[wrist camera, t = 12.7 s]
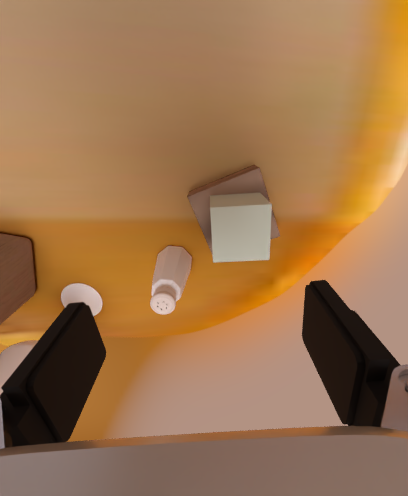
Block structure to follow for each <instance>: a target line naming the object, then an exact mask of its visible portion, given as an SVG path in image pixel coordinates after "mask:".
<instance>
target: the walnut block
mask: <svg viewBox="0 0 408 496" xmlns="http://www.w3.org/2000/svg"><path fill="white" fill-rule="evenodd" d="M243 193H261V194H262V195H263V196H264V197H265V198H266V199H267V200H268V201H269V198H268V194H267V191H266V188H265V185H264V181H263V178H262V175H261V171H260V168H259V167H257V166H255V165H253V166H250V167H248V168H245V169H243V170H241V171H238V172H236V173H233V174H231V175H228V176H226V177H223V178H221V179H219V180H216V181H214V182H211V183H209V184H206V185H204V186H202V187H199V188H197V189H194V190H192V191H190V192H189V194H188V199H189V201H190V204H191V206H192V208H193V211H194V213H195V215H196V218H197V220H198V222H199V225H200V227H201V229H202V232H203V234H204V236H205V239H206V241H207V243H208V245H209V248H210V250H211V252H212V233H211V214H210V195H227V194H243ZM269 202H270V201H269ZM279 236H280V234H279V230H278V227H277V224H276V221H275V217H274V214H273V211H271V234H270V239H273V238H276V237H279ZM212 255H213V252H212Z"/></svg>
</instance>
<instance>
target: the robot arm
mask: <svg viewBox="0 0 408 496" xmlns="http://www.w3.org/2000/svg"><path fill="white" fill-rule="evenodd" d="M302 337H303V341H304V344H305V346H306V348H307V350H308V352H309V354H310V357H311V359H312V361H313V363H314V365H315V367H316V369H317V371H318V374H319V376H320V378H321V379H322V382H323V384H324V386H325V388H326V390H327V393H328V395H329V397H330V399H331V401H332V403H333V405H334V407H335V409H336V411H337V414H338V416H339V418H340V420H341V422H342V423H343V424H348V426H330V427H304V428H284V429H267V430H266V429H265V430H248V431H230V432H213V433H198V434H182V435H165V436H149V437H133V438H119V439H105V440H89V441H75V442H66V441H68V439H69V438H70V436H71V434H72V432H73V430H74V427H75V425H76V423H77V421H78V418H79V416H80V414H81V412H82V409H83V407H84V405H85V403H86V400H87V398H88V396H89V394H90V391H91V389H92V387H93V385H94V382H95V380H96V378H97V376H98V373H99V371H100V369H101V367H102V364H103V362H104V360H105V357H106V350H105V347H104V344H103V341H102V338H101V336H100V333H99V330H98V328H97V325H96V322H95V320H94V317H93V314H92V312H91V309H90V307H89V305H86V304H85V303H84V302H76V303H69V304H68V305H67V306H66V307H65V308H64V310H63V311H62V312H61V313H60V315H59V316H58V317H57V318H56V320H55V321H54V322H53V323H52V325H51V326H50V327H49V328H48V330H47V331H46V332H45V333H44V335H43V336H42V337H41V338H40V340H39V341H38V342H37V343H36V345H35V346H34V347H33V348H32V350H31V351H30V352H29V353H28V355H27V356H26V357H25V358H24V360H23V361H22V362H21V363H20V365H19V366H18V367H17V368H16V370H15V371H14V372H13V373H12V375H11V376H10V377H9V378H8V380H7V381H6V382H5V383H4V385H3V386H2V387H1V389H2V390H3V392H2V394H1V395H0V496H408V365H400V364H399V363H398V362H397V360H396V359H395V358H394V357H393V356H392V354H391V353H390V352H389V351H388V350H387V348H386V347H385V346H384V345H383V344H382V343H381V341H380V340H379V339H378V338H377V337H376V336H375V334H374V333H373V332H372V331H371V330H370V328H368V326H367V325H366V324H365V322H364V321H363V320H362V319H361V318H360V317H359V315H358V314H357V313H356V312H355V311H353V310H350V309H349V308H348V307H347V305H346V304H345V303H344V302H343V300H342V299H341V298H340V297H339V295H338V294H337V293H336V292H335V291H334V290H333V288H332V287H331V286H330V285H329V283H328V282H327V281H325V280H320V281H311V282H310V284H309V285H306V288H305V300H304V315H303V329H302Z"/></svg>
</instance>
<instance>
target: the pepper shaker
mask: <svg viewBox="0 0 408 496" xmlns="http://www.w3.org/2000/svg"><path fill="white" fill-rule="evenodd" d="M191 261H192V257H191V256H190V254H189V253H188V252H187V251H186V250H185V249H184V248H183V247H177V246H167V247H166V248H165V249H164V250H162V251H161V252H160V253H159V254H158V257H157V262H156V267H155V272H154V277H153V282H152V298H151V301H150V305H151V308H152V309H153V310H154V311H155V312H156V313H158V314H169V313H171V312H172V311H173V310H174V309H175V305H176V301H177V300H178V299H180V297H181V295H182V292H183V290H184V287H185V284H186V281H187V279H188V276H189V273H190V270H191Z"/></svg>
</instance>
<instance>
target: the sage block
mask: <svg viewBox="0 0 408 496" xmlns="http://www.w3.org/2000/svg"><path fill="white" fill-rule="evenodd" d="M271 211H272V204H271V203H270V202H269V201H268V200H267V199H266V198H265V197H264V196H263V195H262V194H261V193H243V194H227V195H210V214H211V233H212V252H213V262H233V261H254V260H269V256H270V234H271Z"/></svg>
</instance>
